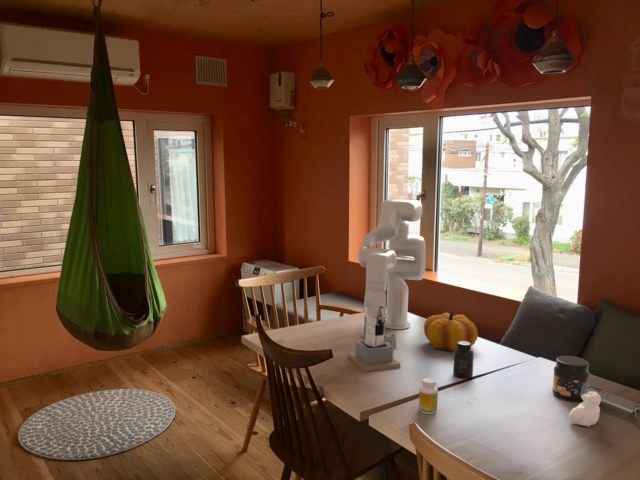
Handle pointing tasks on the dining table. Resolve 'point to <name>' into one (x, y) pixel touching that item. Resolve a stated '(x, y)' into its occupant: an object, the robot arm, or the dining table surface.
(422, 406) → the supplement bottle
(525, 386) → the dining table surface
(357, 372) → the dining table surface
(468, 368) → the supplement bottle
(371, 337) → the syrup box
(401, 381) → the dining table surface
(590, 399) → the bust
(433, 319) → the decorative pumpkin
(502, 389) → the dining table surface
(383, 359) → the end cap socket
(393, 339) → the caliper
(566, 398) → the supplement container
